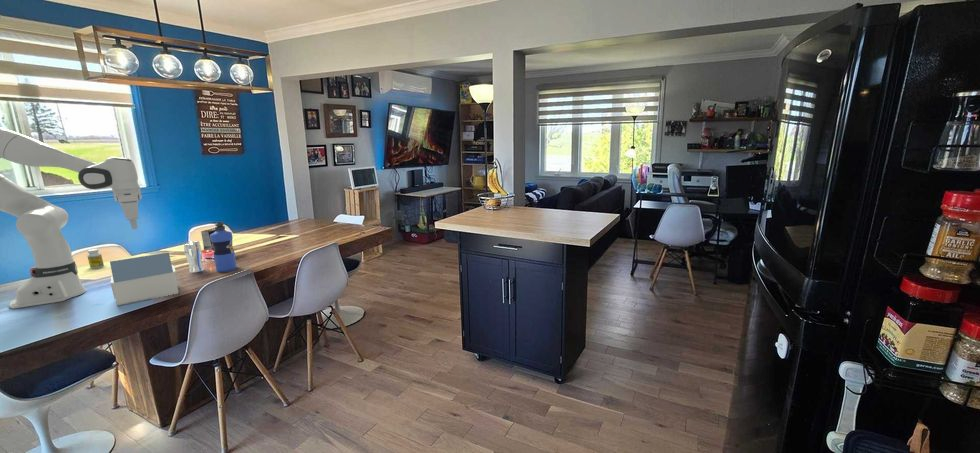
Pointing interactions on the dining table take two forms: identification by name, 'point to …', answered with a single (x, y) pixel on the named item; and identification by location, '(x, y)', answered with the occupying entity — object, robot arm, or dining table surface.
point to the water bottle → (223, 249)
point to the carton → (145, 288)
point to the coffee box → (207, 239)
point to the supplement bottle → (95, 258)
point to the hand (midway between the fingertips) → (134, 227)
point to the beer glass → (194, 256)
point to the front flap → (141, 267)
